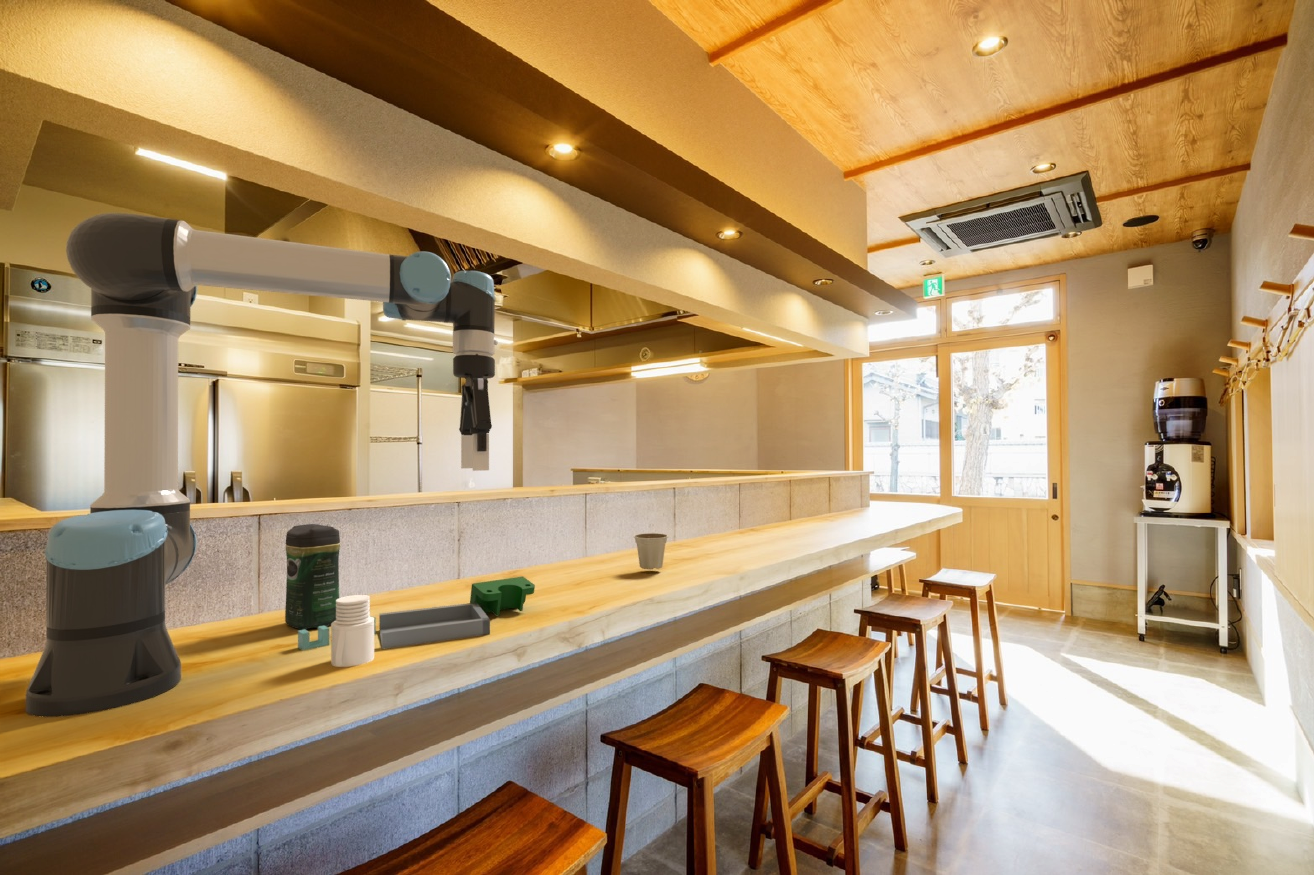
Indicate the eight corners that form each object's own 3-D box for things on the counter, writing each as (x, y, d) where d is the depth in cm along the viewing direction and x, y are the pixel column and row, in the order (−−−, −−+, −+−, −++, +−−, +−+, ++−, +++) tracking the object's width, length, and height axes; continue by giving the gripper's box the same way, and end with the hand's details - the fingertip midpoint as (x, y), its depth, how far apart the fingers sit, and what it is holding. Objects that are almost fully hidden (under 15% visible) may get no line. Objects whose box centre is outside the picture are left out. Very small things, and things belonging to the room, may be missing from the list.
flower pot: (668, 571, 160) (668, 538, 161) (632, 571, 161) (632, 538, 161) (668, 564, 170) (668, 533, 170) (634, 564, 170) (634, 533, 170)
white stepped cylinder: (344, 655, 96) (344, 592, 96) (388, 656, 96) (388, 592, 96) (314, 674, 88) (314, 605, 88) (362, 675, 88) (362, 605, 88)
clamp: (490, 638, 117) (476, 599, 114) (476, 625, 122) (463, 588, 118) (543, 605, 124) (532, 568, 121) (528, 594, 128) (517, 558, 125)
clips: (304, 653, 97) (304, 634, 98) (296, 649, 99) (296, 630, 100) (377, 635, 107) (377, 618, 107) (369, 631, 109) (369, 615, 109)
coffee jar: (347, 623, 114) (347, 523, 115) (302, 633, 108) (302, 528, 108) (322, 614, 120) (322, 520, 120) (278, 624, 114) (278, 524, 114)
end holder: (382, 652, 98) (382, 633, 98) (379, 630, 110) (379, 613, 110) (489, 636, 105) (489, 619, 106) (476, 618, 117) (476, 602, 117)
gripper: (508, 347, 105) (509, 470, 105) (482, 365, 127) (482, 467, 127) (463, 344, 102) (463, 472, 101) (444, 363, 124) (445, 467, 124)
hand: (474, 469), depth 114 cm, fingers open, 13 cm apart
